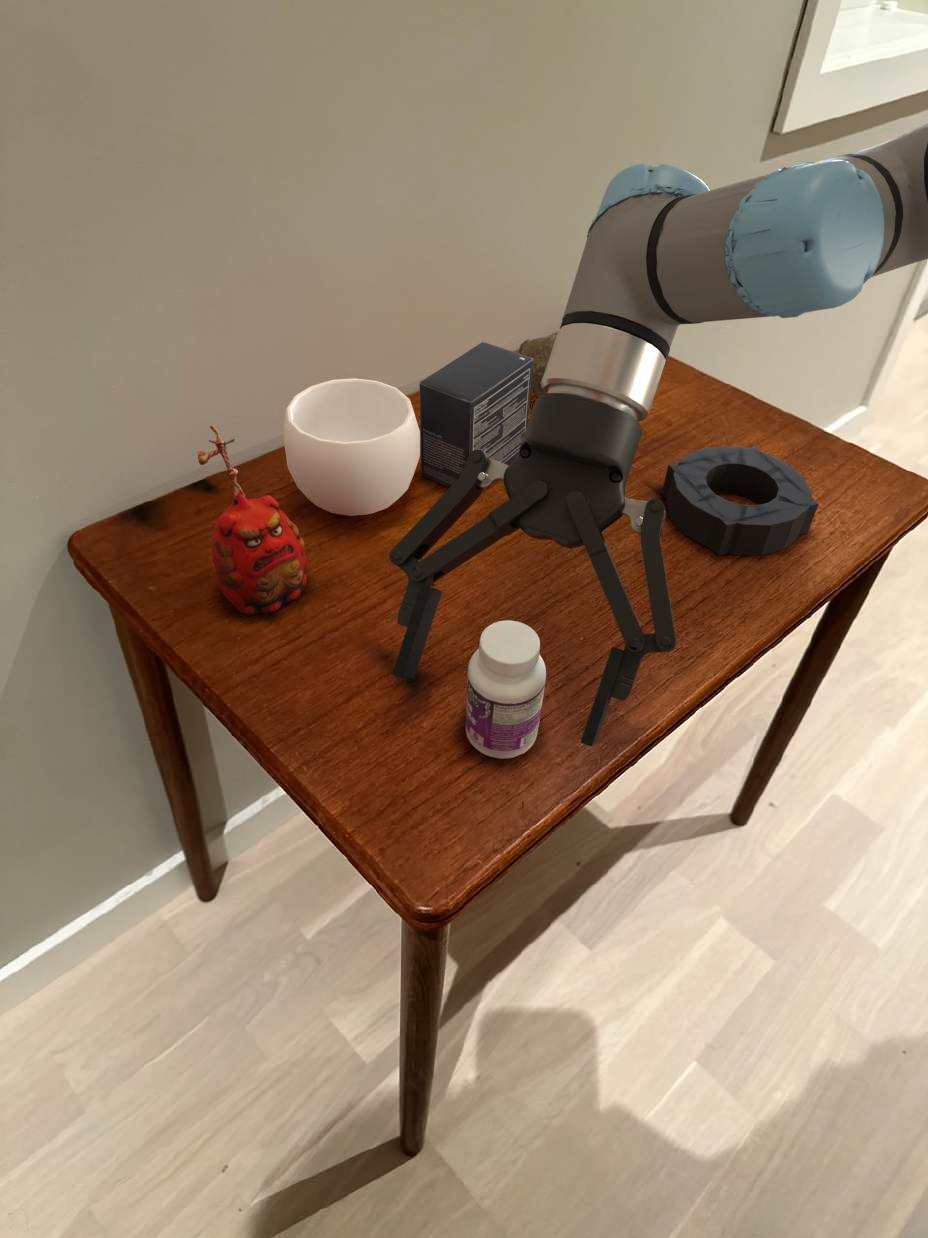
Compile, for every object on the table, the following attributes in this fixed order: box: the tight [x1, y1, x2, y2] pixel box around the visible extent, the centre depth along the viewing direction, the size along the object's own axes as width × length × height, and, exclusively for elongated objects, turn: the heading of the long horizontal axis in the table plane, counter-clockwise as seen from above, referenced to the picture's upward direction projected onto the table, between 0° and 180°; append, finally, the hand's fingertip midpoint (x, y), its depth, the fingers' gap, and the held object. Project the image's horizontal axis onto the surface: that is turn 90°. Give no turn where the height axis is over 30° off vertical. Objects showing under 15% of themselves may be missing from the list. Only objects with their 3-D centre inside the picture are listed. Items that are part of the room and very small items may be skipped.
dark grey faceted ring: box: [661, 445, 820, 556], centre depth 82 cm, size 12×12×4 cm
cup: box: [282, 377, 421, 517], centre depth 80 cm, size 12×12×10 cm
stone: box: [518, 333, 558, 399], centre depth 94 cm, size 17×9×8 cm, turn 52°
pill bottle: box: [465, 620, 547, 759], centre depth 60 cm, size 5×5×10 cm
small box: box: [418, 341, 533, 489], centre depth 85 cm, size 11×6×10 cm, turn 144°
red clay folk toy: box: [197, 425, 308, 616], centre depth 68 cm, size 8×7×15 cm
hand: (492, 709), depth 59 cm, fingers open, 13 cm apart
